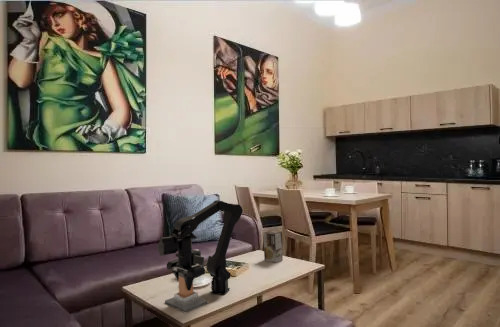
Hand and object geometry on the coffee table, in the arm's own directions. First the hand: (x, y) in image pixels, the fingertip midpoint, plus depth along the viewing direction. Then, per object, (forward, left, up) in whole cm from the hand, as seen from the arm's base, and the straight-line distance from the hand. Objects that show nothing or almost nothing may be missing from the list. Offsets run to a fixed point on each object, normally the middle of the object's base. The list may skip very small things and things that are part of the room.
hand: (185, 288), depth 130 cm
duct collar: (0, 0, -6) cm, 6 cm away
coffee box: (-20, -63, -6) cm, 67 cm away
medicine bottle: (+13, -32, -6) cm, 35 cm away
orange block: (0, 0, -3) cm, 3 cm away
